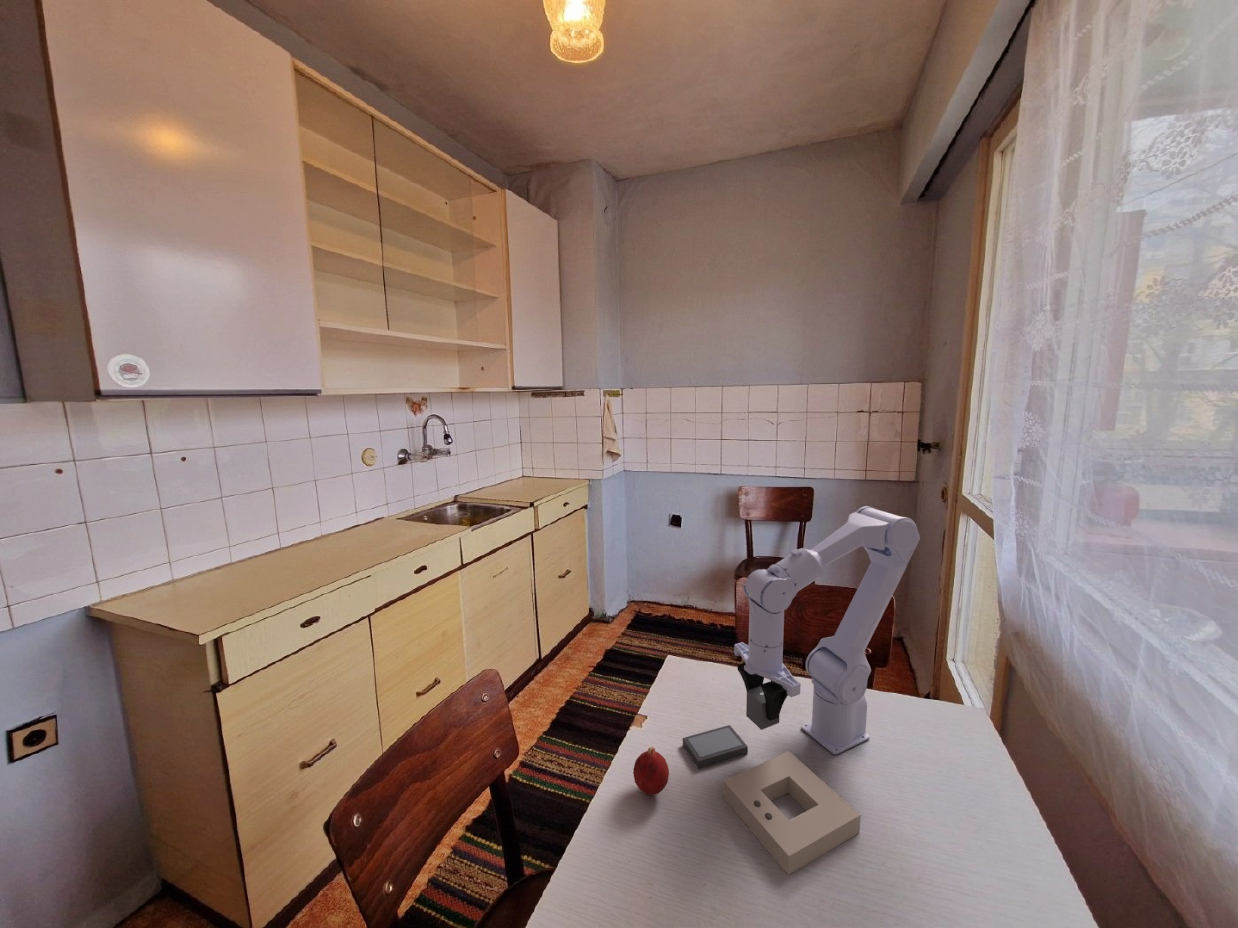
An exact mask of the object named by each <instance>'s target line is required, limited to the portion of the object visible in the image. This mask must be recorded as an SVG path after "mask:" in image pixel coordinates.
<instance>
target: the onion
mask: <svg viewBox="0 0 1238 928" xmlns="http://www.w3.org/2000/svg"><path fill="white" fill-rule="evenodd" d="M669 770H670V769H669V766H668V763H667V760H666V759H665V757H664V756H663V755H662V754H661V753H659V752H658V751H656V748H654V747H653V746H650V747H648V749H647V750H646V751H644V752H642V753H641V754H639V755H638V757H637V758H636V760H635V763H634V766H633V773H632V774H633V779H634V783H635V785H636V786H637V788H638V789H639V790H640V791H641V792H642V793H644V794H646V795H649V796H654V795H658V794H659V793H662V791H663V790H664V789H665V787H666V786H667V784H668V782H669V775H670V771H669Z"/></svg>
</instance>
